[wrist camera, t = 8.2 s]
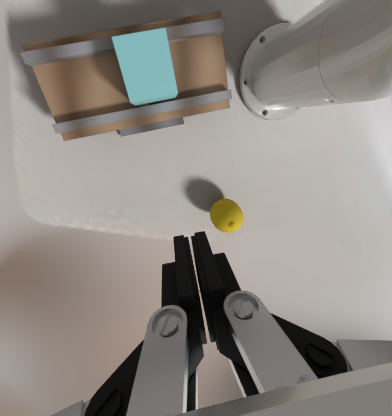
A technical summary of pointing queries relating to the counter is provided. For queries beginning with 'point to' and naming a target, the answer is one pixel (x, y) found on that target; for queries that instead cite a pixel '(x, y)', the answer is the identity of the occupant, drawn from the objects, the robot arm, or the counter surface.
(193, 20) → the wooden tray
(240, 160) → the counter surface
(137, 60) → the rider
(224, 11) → the counter surface
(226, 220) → the lemon
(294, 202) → the counter surface
